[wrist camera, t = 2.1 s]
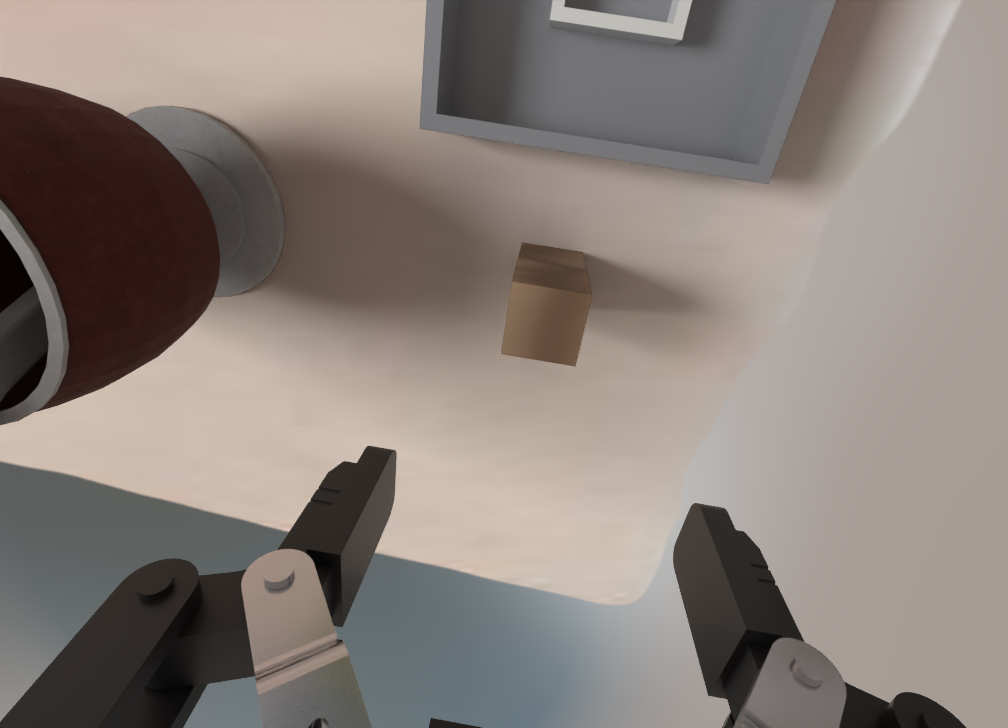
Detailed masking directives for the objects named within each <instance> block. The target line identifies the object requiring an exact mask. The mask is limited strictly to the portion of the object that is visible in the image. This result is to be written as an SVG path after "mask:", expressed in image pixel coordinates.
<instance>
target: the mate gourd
mask: <svg viewBox="0 0 1008 728" xmlns="http://www.w3.org/2000/svg"><path fill="white" fill-rule="evenodd" d="M284 236H285V221H284V211H283V207H282V203H281V200H280V196H279V192H278V190H277V188H276V186H275V183H274V181H273V179H272V177H271V175H270V173H269V171H268V170H267V168H266V167H265V165H264V164H263V162H262V161H261V159H260V157H259V156H258V155H257V154H256V153H255V151H254V150H253V149H252V148H251V147H250V146H249V145H248V144H247V142H246V141H245V140H244V139H243V138H241V137H240V136H239V135H238V134H236V133H235V132H234V131H233V130H232V129H230V128H229V127H228V126H227V125H225V124H223V123H221V122H220V121H218V120H216V119H214V118H213V117H211V116H209V115H206V114H204V113H201V112H198V111H195V110H192V109H189V108H181V107H174V106H156V107H146V108H143V109H141V110H138V111H136V112H133V113H130V114H129V115H128V116H126V117H125V116H123V115H122V114H120V113H118V112H116V111H114V110H113V109H111V108H108V107H105V106H102V105H100V104H97V103H94V102H91V101H88V100H86V99H83V98H80V97H77V96H74V95H71V94H68V93H65V92H63V91H60V90H56V89H52V88H48V87H44V86H40V85H36V84H32V83H28V82H23V81H19V80H15V79H11V78H5V77H0V425H3V424H7V423H11V422H15V421H19V420H21V419H23V418H24V417H26V416H28V415H30V414H32V413H33V412H37V411H40V410H44V409H47V408H51V407H54V406H58V405H61V404H63V403H66V402H68V401H71V400H73V399H76V398H78V397H81V396H84V395H86V394H89V393H91V392H94V391H96V390H99V389H101V388H104V387H105V386H107V385H109V384H111V383H113V382H115V381H116V380H118V379H120V378H122V377H124V376H125V375H127V374H129V373H131V372H132V371H134V370H136V369H137V368H139V367H141V366H143V365H144V364H146V363H148V362H149V361H151V360H153V359H155V358H156V357H158V356H159V355H160V354H162V353H163V352H164V351H165V350H166V349H167V348H168V347H170V346H171V345H172V344H173V343H174V342H175V341H177V340H178V339H179V338H180V337H181V336H182V335H183V334H184V333H185V332H186V331H187V330H188V329H189V328H190V327H191V326H192V325H193V324H194V323H195V322H196V321H197V320H198V319H199V317H200V316H201V315H202V314H203V313H204V311H205V310H206V309H207V307H208V305H209V303H210V302H211V300H212V298H213V297H229V296H233V295H236V294H240V293H243V292H245V291H247V290H249V289H251V288H252V287H254V286H256V285H258V284H260V283H261V282H262V281H263V280H264V279H265V278H266V277H267V276H268V275H269V274H270V273H271V272H272V270H273V269H274V267H275V266H276V264H277V262H278V261H279V258H280V255H281V252H282V249H283V245H284Z"/></svg>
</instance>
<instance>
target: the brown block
mask: <svg viewBox="0 0 1008 728" xmlns="http://www.w3.org/2000/svg"><path fill="white" fill-rule="evenodd" d="M591 298H592V292H591V288H590V284H589V279H588V275H587V271H586V267H585V263H584V258H583V254H582V252H577V251H571V250H565V249H559V248H553V247H546V246H540V245H534V244H528V243H522V245H521V249H520V253H519V257H518V261H517V265H516V268H515V272H514V276H513V280H512V285H511V292H510V298H509V305H508V311H507V318H506V325H505V331H504V338H503V344H502V351H501V354H504V355H510V356H516V357H522V358H528V359H534V360H540V361H546V362H552V363H558V364H564V365H570V366H576V362H577V357H578V353H579V349H580V345H581V340H582V336H583V332H584V328H585V323H586V319H587V315H588V310H589V306H590V302H591Z"/></svg>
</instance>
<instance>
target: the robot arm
mask: <svg viewBox="0 0 1008 728" xmlns="http://www.w3.org/2000/svg"><path fill="white" fill-rule="evenodd" d="M395 477H396V451H395V450H391V449H385V448H379V447H373V446H367V447H366V449H365V450H364V452H363V454H362V455H361V457H360V459H359V460H358V462H357V463H352V462H346V461H344V462H342V463H341V464H340V465H338V466H337V467H335V468H334V469H333V470H331V471H330V472H328V474H327V475H326V477H325V478H324V480H323V481H322V483H321V484H320V486H319V489H318V490H317V491H316V492H315V494H314V495H313V497H312V498H311V501H310V502H309V503H308V504H307V506H306V507H305V509H304V510H303V512H302V513H301V515H300V516H299V518H298V520H297V521H296V523H295V524H294V526H293V527H292V529H291V530H290V532H289V533H288V535H287V536H286V538H285V539H284V541H283V542H282V544H281V546H280V547H279V548H278V550H277V551H273V552H270V553H268V554H265V555H263V556H262V557H260V558H259V559H257V560H256V561H255V562H253V563H252V564H251V565H250V566H249V568H248V569H246V570H242V571H237V572H230V573H221V574H211V575H201V576H199V574H198V571H197V568H196V567H195V566H194V565H193V564H192V563H190V562H189V561H186V560H182V559H164V560H159V561H156V562H153V563H150V564H148V565H145V566H143V567H142V568H140V569H138V570H136V571H135V572H133V573H132V574H130V575H129V576H128V577H127V578H126V579H125V580H123V581H122V582H121V584H120V585H119V586H118V587H117V588H116V589H115V591H114V592H113V593H112V594H111V595H110V596H109V598H107V600H106V601H105V602H104V603H103V604H102V605H101V607H100V608H99V609H98V610H97V611H96V612H95V613H94V615H93V616H92V617H91V618H90V619H89V620H88V622H87V623H86V624H85V625H84V626H83V627H82V628H81V630H80V631H79V632H78V633H77V634H76V635H75V637H74V638H73V639H72V640H71V641H70V642H69V643H68V645H67V646H66V647H65V648H64V649H63V650H62V652H61V653H60V654H59V655H58V656H57V657H56V658H55V659H54V661H53V662H52V663H51V664H50V665H49V666H48V668H47V669H46V670H45V671H44V672H43V673H42V675H41V676H40V677H39V678H38V679H37V680H36V681H35V682H34V684H33V685H32V686H31V687H30V688H29V689H28V691H27V692H26V693H25V694H24V695H23V696H22V697H21V699H20V700H19V701H18V702H17V703H16V705H15V706H14V707H13V708H12V709H11V710H10V711H9V712H8V714H7V715H6V716H5V717H4V718H3V719H2V721H1V722H0V728H183V727H184V725H185V723H186V721H187V720H188V718H189V716H190V714H191V713H192V711H193V709H194V707H195V706H196V704H197V702H198V700H199V698H200V697H201V695H202V693H203V691H204V690H205V688H206V686H207V684H209V683H215V682H221V681H227V680H233V679H240V678H246V677H252V676H255V677H256V684H257V690H258V697H259V703H260V709H261V716H262V722H263V728H372V727H371V723H370V720H369V717H368V714H367V711H366V708H365V705H364V701H363V698H362V695H361V692H360V689H359V686H358V683H357V680H356V676H355V673H354V671H353V667H352V664H351V661H350V658H349V655H348V652H347V649H346V646H345V644H344V642H343V641H342V640H338V638H337V635H336V632H335V629H334V626H339V627H343V625H344V623H345V620H346V618H347V615H348V613H349V611H350V608H351V606H352V603H353V601H354V599H355V597H356V594H357V592H358V590H359V587H360V585H361V583H362V580H363V578H364V575H365V573H366V571H367V568H368V566H369V564H370V561H371V559H372V556H373V554H374V552H375V550H376V547H377V545H378V542H379V540H380V538H381V535H382V533H383V531H384V528H385V526H386V524H387V521H388V519H389V516H390V514H391V510H392V507H393V502H394V496H395ZM673 563H674V569H675V573H676V577H677V581H678V584H679V588H680V592H681V595H682V599H683V603H684V607H685V610H686V614H687V618H688V622H689V625H690V629H691V632H692V636H693V640H694V644H695V648H696V651H697V655H698V659H699V663H700V666H701V670H702V674H703V678H704V681H705V685H706V688H707V693H708V695H709V696H714V697H719V698H725V699H727V700H728V703H729V706H730V710H731V712H730V713H729V715H728V716H727V718H726V720H725V722H724V725H723V726H722V728H966V727H965V726H964V725H963V724H962V723H961V722H960V721H959V720H958V719H957V718H956V717H955V716H954V715H953V714H952V713H950V712H949V711H948V710H946V709H945V708H944V707H942V706H941V705H939V704H938V703H936V702H935V701H933V700H931V699H929V698H927V697H924V696H922V695H919V694H916V693H911V692H904V693H900V694H898V695H897V696H896V697H895V698H894V699H893V700H892V701H891V703H888V702H886V701H884V700H882V699H880V698H877V697H875V696H873V695H871V694H868V693H867V692H864V691H862V690H860V689H858V688H856V687H854V686H851V685H850V684H848V683H846V682H844V680H843V679H842V676H841V675H840V673H839V672H838V670H837V668H836V667H835V666H834V665H833V663H832V662H831V661H830V660H829V659H828V658H827V657H826V656H824V655H823V654H822V653H821V652H820V651H818V650H817V649H816V648H814V647H812V646H811V645H809V644H807V643H805V642H804V640H803V638H802V636H801V634H800V632H799V630H798V628H797V626H796V624H795V622H794V620H793V617H792V615H791V613H790V611H789V609H788V607H787V605H786V603H785V601H784V599H783V596H782V594H781V593H780V590H779V588H778V586H776V585H775V580H774V578H773V576H772V574H771V572H770V571H769V570H768V565H767V563H766V561H765V559H764V557H763V555H762V553H761V551H760V549H759V548H758V547H757V546H756V544H755V543H754V542H753V541H752V540H751V539H750V538H749V537H748V536H747V534H746V533H744V532H743V531H737V530H735V528H734V525H733V523H732V521H731V519H730V516H729V514H728V512H727V511H726V509H724V508H721V507H715V506H709V505H704V504H698V503H694V504H693V505H692V506H691V508H690V510H689V512H688V514H687V517H686V519H685V522H684V524H683V526H682V529H681V531H680V534H679V536H678V538H677V541H676V544H675V547H674V553H673ZM429 728H481V727H476V726H470V725H465V724H460V723H455V722H449V721H444V720H438V719H433V718H431V720H430V725H429Z"/></svg>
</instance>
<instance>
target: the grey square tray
mask: <svg viewBox="0 0 1008 728" xmlns="http://www.w3.org/2000/svg"><path fill="white" fill-rule="evenodd" d="M835 3H836V0H427V5H426V23H425V41H424V60H423V78H422V96H421V114H420V129H425V130H431V131H437V132H444V133H450V134H456V135H462V136H469V137H475V138H481V139H488V140H494V141H500V142H507V143H513V144H519V145H525V146H532V147H538V148H544V149H551V150H557V151H563V152H569V153H576V154H582V155H588V156H595V157H601V158H607V159H614V160H620V161H626V162H632V163H639V164H645V165H651V166H658V167H664V168H670V169H677V170H683V171H689V172H695V173H702V174H708V175H714V176H721V177H727V178H733V179H739V180H746V181H752V182H758V183H765V184H769V182H770V179H771V176H772V174H773V171H774V168H775V165H776V163H777V160H778V157H779V155H780V152H781V149H782V146H783V144H784V141H785V138H786V136H787V133H788V130H789V127H790V125H791V122H792V119H793V117H794V114H795V111H796V108H797V106H798V103H799V100H800V98H801V95H802V92H803V89H804V87H805V84H806V81H807V79H808V76H809V73H810V70H811V68H812V65H813V62H814V60H815V57H816V54H817V51H818V49H819V46H820V43H821V41H822V38H823V35H824V32H825V30H826V27H827V24H828V22H829V19H830V16H831V13H832V11H833V8H834V5H835Z"/></svg>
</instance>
